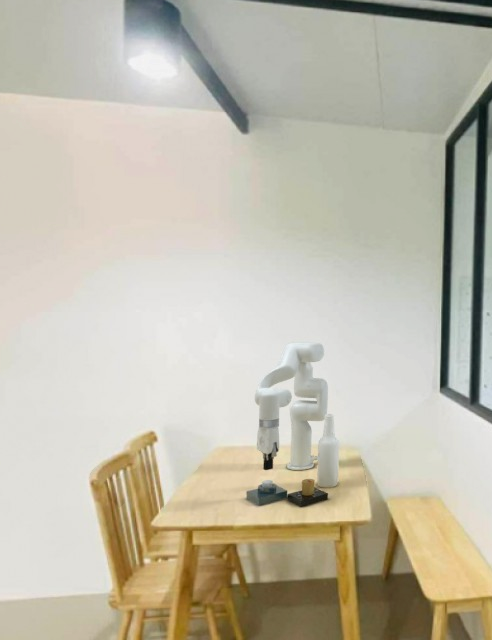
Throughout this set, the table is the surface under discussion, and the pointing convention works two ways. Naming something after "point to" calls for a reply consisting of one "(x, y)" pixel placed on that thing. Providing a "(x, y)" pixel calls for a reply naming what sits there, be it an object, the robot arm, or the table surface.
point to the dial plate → (307, 497)
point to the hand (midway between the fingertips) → (268, 469)
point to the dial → (308, 487)
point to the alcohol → (328, 455)
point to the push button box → (266, 494)
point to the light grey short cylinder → (267, 484)
